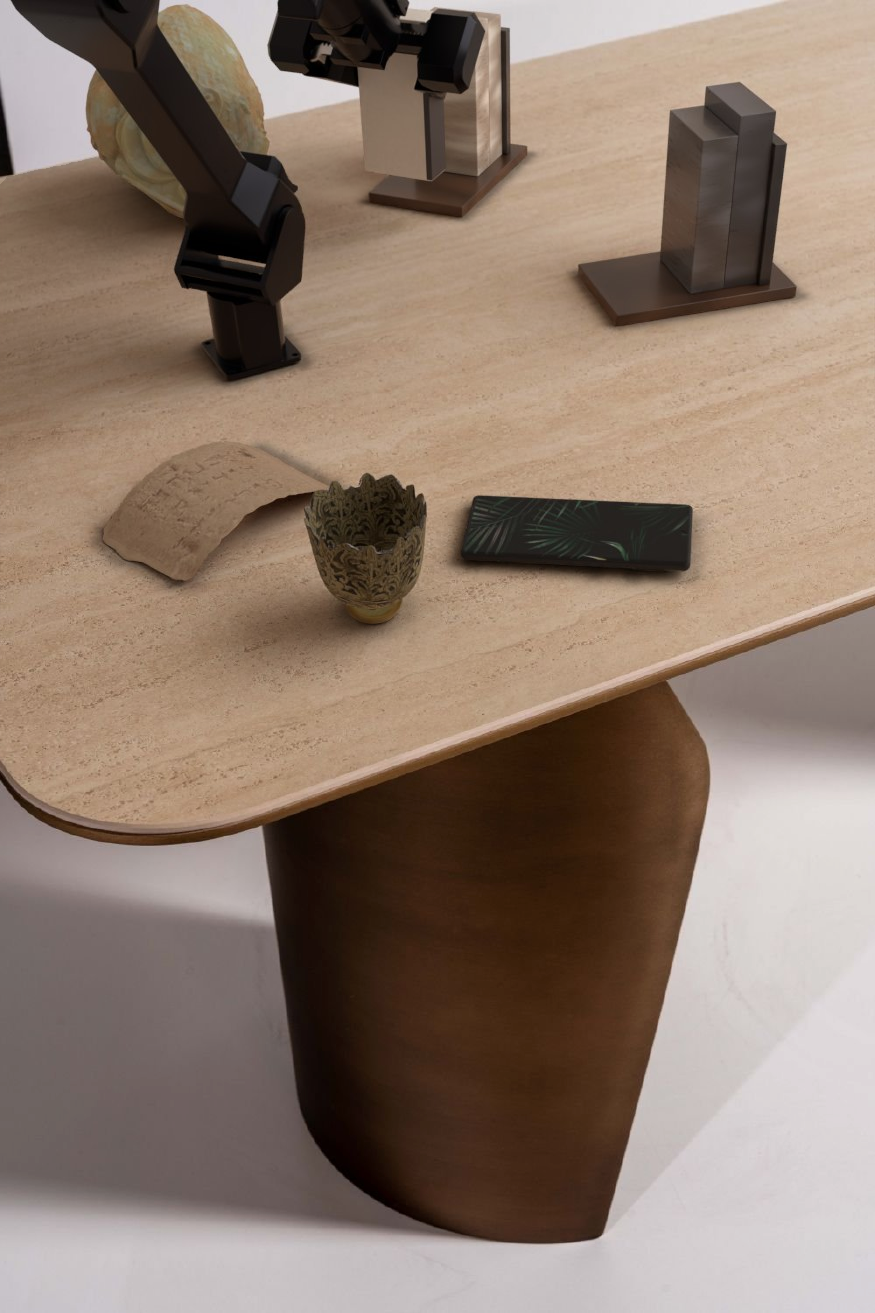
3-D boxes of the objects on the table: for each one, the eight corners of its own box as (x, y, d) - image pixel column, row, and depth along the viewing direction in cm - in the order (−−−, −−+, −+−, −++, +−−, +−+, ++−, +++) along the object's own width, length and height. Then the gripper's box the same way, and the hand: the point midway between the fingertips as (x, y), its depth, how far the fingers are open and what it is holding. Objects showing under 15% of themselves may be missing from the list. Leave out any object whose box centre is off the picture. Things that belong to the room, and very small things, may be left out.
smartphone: (473, 493, 98) (693, 503, 96) (473, 505, 99) (692, 515, 96) (458, 552, 93) (690, 564, 91) (459, 564, 94) (689, 576, 91)
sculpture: (46, 226, 139) (143, 201, 124) (44, 11, 137) (143, -41, 121) (201, 247, 150) (308, 226, 135) (202, 49, 148) (312, 5, 132)
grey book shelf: (616, 326, 117) (625, 140, 107) (577, 274, 124) (582, 95, 114) (795, 296, 120) (821, 112, 110) (747, 247, 127) (766, 70, 117)
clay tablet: (190, 591, 92) (183, 558, 91) (93, 534, 98) (85, 502, 96) (344, 492, 100) (341, 460, 99) (247, 445, 106) (242, 413, 104)
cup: (330, 658, 87) (318, 554, 82) (304, 588, 92) (291, 486, 87) (446, 633, 88) (441, 528, 83) (415, 565, 94) (408, 463, 88)
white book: (432, 181, 130) (425, 21, 121) (364, 171, 132) (352, 13, 123) (446, 169, 132) (441, 11, 123) (379, 159, 134) (369, 3, 125)
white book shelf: (462, 217, 134) (457, 53, 124) (368, 202, 138) (357, 42, 128) (527, 155, 145) (527, 0, 135) (439, 142, 149) (433, -10, 139)
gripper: (473, -92, 111) (527, 14, 125) (268, -109, 117) (342, -6, 132) (433, 44, 111) (492, 134, 125) (230, 20, 117) (309, 109, 132)
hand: (408, 89), depth 129 cm, fingers closed on white book, 7 cm apart
